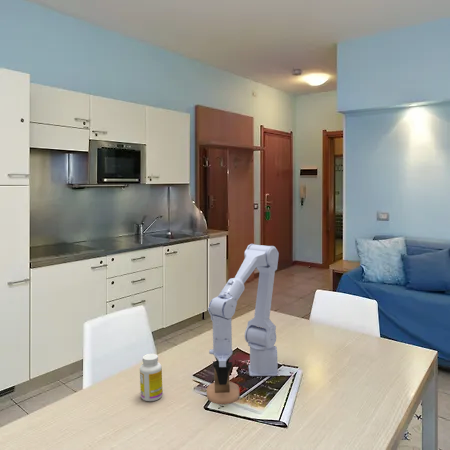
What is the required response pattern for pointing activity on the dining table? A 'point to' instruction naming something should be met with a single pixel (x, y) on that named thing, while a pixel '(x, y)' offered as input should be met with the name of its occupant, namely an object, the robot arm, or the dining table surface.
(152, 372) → the supplement bottle
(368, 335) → the dining table surface
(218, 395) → the tan round disc
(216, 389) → the walnut block
